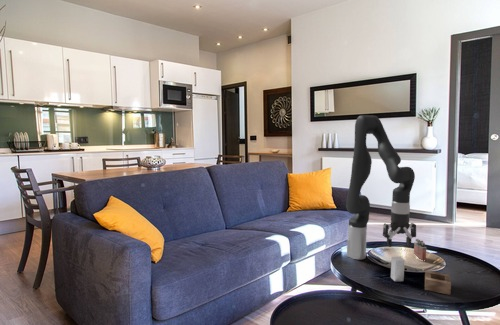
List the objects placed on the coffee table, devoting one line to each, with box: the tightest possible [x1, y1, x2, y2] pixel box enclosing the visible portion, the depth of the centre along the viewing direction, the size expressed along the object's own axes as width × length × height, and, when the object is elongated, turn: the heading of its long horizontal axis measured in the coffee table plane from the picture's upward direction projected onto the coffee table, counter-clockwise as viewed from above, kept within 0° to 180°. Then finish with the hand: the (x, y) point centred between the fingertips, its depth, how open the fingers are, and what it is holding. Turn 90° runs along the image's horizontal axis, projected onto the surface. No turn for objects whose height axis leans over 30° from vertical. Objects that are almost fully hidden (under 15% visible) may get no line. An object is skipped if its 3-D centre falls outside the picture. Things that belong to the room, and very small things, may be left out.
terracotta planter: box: [413, 238, 428, 261], centre depth 171 cm, size 8×3×10 cm, turn 9°
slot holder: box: [424, 269, 452, 296], centre depth 142 cm, size 9×9×5 cm
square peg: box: [390, 256, 405, 282], centre depth 149 cm, size 4×4×10 cm
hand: (398, 246), depth 147 cm, fingers open, 8 cm apart
